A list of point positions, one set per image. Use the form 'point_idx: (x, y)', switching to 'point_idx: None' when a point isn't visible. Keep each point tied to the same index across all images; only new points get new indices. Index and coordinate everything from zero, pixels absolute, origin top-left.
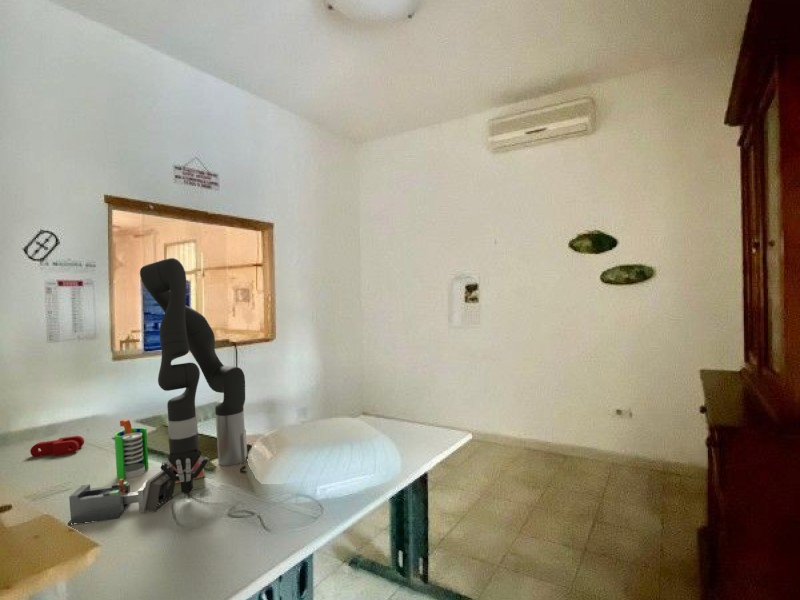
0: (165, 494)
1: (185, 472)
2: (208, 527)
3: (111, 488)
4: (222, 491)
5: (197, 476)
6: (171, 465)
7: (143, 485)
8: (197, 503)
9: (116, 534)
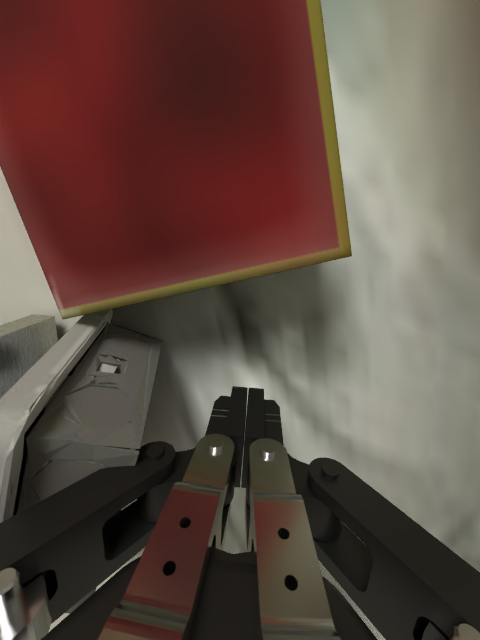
0: (115, 333)
1: (225, 494)
2: (361, 617)
3: None
4: (426, 351)
5: (286, 237)
6: (41, 618)
7: None
8: (301, 435)
9: None
